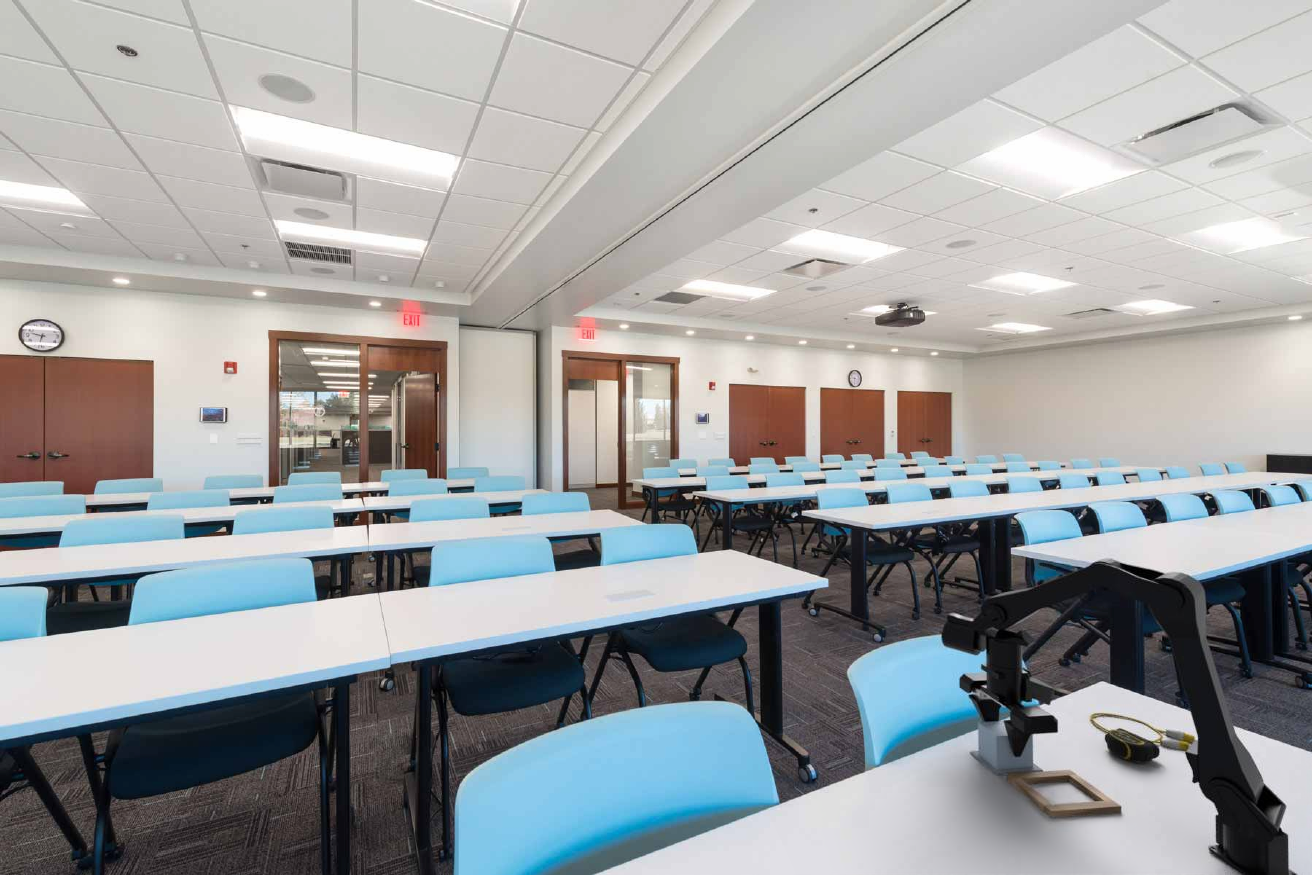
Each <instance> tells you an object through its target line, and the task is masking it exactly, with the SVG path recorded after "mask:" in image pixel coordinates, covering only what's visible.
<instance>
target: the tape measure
mask: <svg viewBox="0 0 1312 875" xmlns="http://www.w3.org/2000/svg"><path fill="white" fill-rule="evenodd" d="M1149 740H1150V739H1147V738H1145V737H1142V736H1140V735H1137V734H1135V733H1133V732H1130V731H1128V730H1126V729H1123V728H1121V727H1119V728H1116V729H1110V730H1109V731H1108V733H1106V734H1105V735H1104V742H1105V743H1106V747H1107V750H1109V751H1110V752H1111V753H1113V754H1114V755H1115V756H1118V757H1120V758H1123V759H1125V760H1128V761H1130V762H1134V763H1149V762H1151V761H1152V760H1153V759H1156V758H1158V757H1159V756H1160V752H1161V751H1160V747H1159V746H1158V745H1157V743H1153V742H1151V741H1152V740H1150V741H1149Z"/></svg>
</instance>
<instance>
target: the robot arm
mask: <svg viewBox="0 0 1312 875" xmlns="http://www.w3.org/2000/svg"><path fill="white" fill-rule="evenodd" d="M1102 587H1105V588H1107V589H1111V590H1113V591H1115V592H1118V593H1119V594H1120V595H1123V596H1126V597H1127V598H1129V599H1132V600H1135V601H1137V602H1140V603H1143V604H1146V605H1147V606H1148V608H1149V610H1150V612H1151V614H1152V616H1153V618H1154V620H1155V621H1156V623H1157V624H1158V626H1159V627H1160V628H1161V630H1162V631H1163V632H1164V633H1165V635H1166V636H1167V638H1168V640H1169V644H1170V647H1171V651H1172V654H1173V657H1174V660H1175V664H1176V667H1177V671H1178V674H1179V677H1180V681H1181V685H1182V688H1183V691H1184V695H1185V697H1186V698H1185V699H1186V702H1187V704H1188V707H1189V708H1188V709H1189V711H1190V715H1191V717H1192V721H1193V726H1194V729H1195V732H1196V735H1197V739H1195V740H1194V741H1193V742H1192V743H1190V744H1189V745H1190V747H1189V748H1188V749H1187V750H1185V752H1184V754H1185V757H1186V760H1187V762H1188V764H1189V766H1190V768H1191V771H1192V772H1191V773H1192V780H1191V783H1193V784H1197V783H1198V786H1199V789H1200V791H1201V793H1202V795H1203V796H1204V797H1205V798H1206V799H1207V800H1209V801H1210V802H1212V803H1213V805H1214V808H1215V810H1216V812H1217V814H1216V815H1215V816H1214V819H1215V820H1214V821H1215V843H1216V844H1213V845H1208V851H1209V852H1211V853H1212V854H1214V855H1215V856H1217V857H1218V858H1219V859H1221V860H1222V861H1225V863H1227V864H1228V865H1229V866H1231V867H1233V868H1234V869H1236V870H1237V871H1238V872H1240V873H1242V874H1243V875H1298V874H1297V873H1296V872H1294V871H1293V870H1291V869H1290V867H1289V866H1290V865H1289V864H1290V862H1289V853H1290V852H1289V834H1288V833H1286V832H1284V831H1283V829H1282V828H1281V824H1282V821H1283V819H1284V815H1285V813H1286V809H1287V804H1285V802H1284V801H1282V799H1281V798H1280V797H1279V796H1278V795H1277V794H1275V793H1274V791H1273V790H1271V788H1270V787H1269V786H1268V785H1266V783H1264V781H1265V780H1264V778H1263V776H1262V774H1261V772H1260V770H1259V768H1258V767H1257V764H1256V762H1255V760H1254V758H1253V756H1252V755H1251V753H1250V752H1249V750H1248V748H1246V746H1245V744H1244V743H1243V742H1242V741H1241V739H1240V738H1239V737H1238V735H1237V733H1236V730H1235V728H1234V727H1235V726H1234V724H1233V720H1232V716H1231V713H1230V710H1229V708H1228V707H1229V706H1228V705H1227V701H1226V697H1225V695H1224V689H1223V687H1222V685H1221V681H1220V677H1219V675H1218V674H1219V673H1218V671H1217V668H1216V664H1215V661H1214V659H1213V655H1212V652H1211V648H1210V645H1209V642H1208V639H1207V634H1206V633H1207V632H1206V630H1207V601H1206V591H1205V588H1204V587H1203V585H1202V583H1201V582H1200V581H1199V580H1198V579H1196V578H1195V577H1193V576H1191V575H1189V574H1187V573H1183V572H1180V571H1179V572H1177V571H1169V572H1163V571H1160V570H1155V569H1153V568H1148V567H1144V566H1143V567H1142V566H1139V565H1133V564H1128V563H1126V562H1121V561H1119V560H1116V559H1113V558H1108V557H1106V558H1102V559H1099V560H1095V561H1094V562H1092V563H1091V564H1090V565H1088V566H1085V567H1083V568H1080V569H1077V570H1075V571H1072V572H1070V573H1068V574H1064V575H1062V576H1060V577H1057V578H1054V579H1052V580H1049V581H1047V582H1044V583H1042V584H1039V585H1036V586H1035V587H1029V588H1022V589H1016V590H1009V591H1007V592H1002V593H998V594H996V595H994V596H993V595H992V596H991V597H988V598H986V599H985V600H983V601H982V602H981V607H980V613H979V614H977V615H976V617H975V618H972V617H969V616H964V615H960V614H959V613H955V612H951V613H948V614H947V615H946V621H945V623H944V625H943V628H942V631H941V634H940V636H941V642H942V645H943V646H944V647H945V648H947V649H948V648H949V649H952V650H955V651H960V652H962V653H966V654H969V655H972V656H979V654H981V652H982V653H983V652H985V658H986V659H985V660H986V661H985V663H980V669H981V671H984V672H974V673H973V672H970V673H962V675H961V676H960V677H959V678H958V679H959V680H958V681H959V685H958V686H959V688H960V689H961V690H962V691H964V692H965V693H966V694H968V698H969V699H970V700H971V702H972V704H973V706H974V708H975V710H976V711H977V713H978V715H979V718H980V719H981V722H994V721H1000V710H1001V708H1002V707H1003V708H1005V709H1008V711H1010V712H1009V719H1004V720H1002V721H1004V725H1005V728H1006V732H1007V735H1008V739H1009V742H1010V746H1011V749H1012V752H1013V754H1014V756H1015V757H1021V755H1022V753H1023V751H1024V748H1025V746H1026V744H1027V742H1028V739H1029V738H1030V736H1031V734H1033V735H1042V734H1043V735H1044V734H1057V733H1059V720H1058V719H1057V718H1056V716H1054V714H1052V713H1050V712H1049V711H1046V710H1045V709H1044V708H1042V707H1040V706H1038V705H1030V706H1025V705H1024V704H1022V702H1025V703H1033V700H1035V701H1039V702H1042V703H1044V704H1045V705H1047V706H1051V702H1052V700H1053V696H1054V694H1055V691H1056V688H1054V687H1053V686H1050V685H1049V684H1048V683H1046V682H1044V681H1042V680H1040V679H1037V678H1036V677H1033V676H1032V671H1030V670H1029V669H1027V668H1025V667H1023V647H1025V648H1026V647H1029V646H1031V645H1033V644H1035V643H1036V642H1037V641H1036V640H1037V639H1035V638H1034V637H1033V636H1032V635H1031V634H1029V633H1028V631H1027V630H1026V628H1022V629H1020V630H1018V631H1014V630H1010V629H1009V628H1011V627H1014V626H1016V625H1017V624H1020V623H1022V622H1023V621H1025V620H1027V619H1028V618H1030V617H1032V616H1033V615H1035V614H1037V612H1040V611H1041V610H1042V609H1044V608H1047V607H1050V606H1053V605H1056V604H1058V603H1061V602H1064V601H1066V600H1070V599H1073V598H1074V597H1078V596H1081V595H1083V594H1086V593H1089V592H1092V591H1095V590H1097V589H1101V588H1102ZM991 628H994V629H991ZM995 629H996V630H995Z"/></svg>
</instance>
